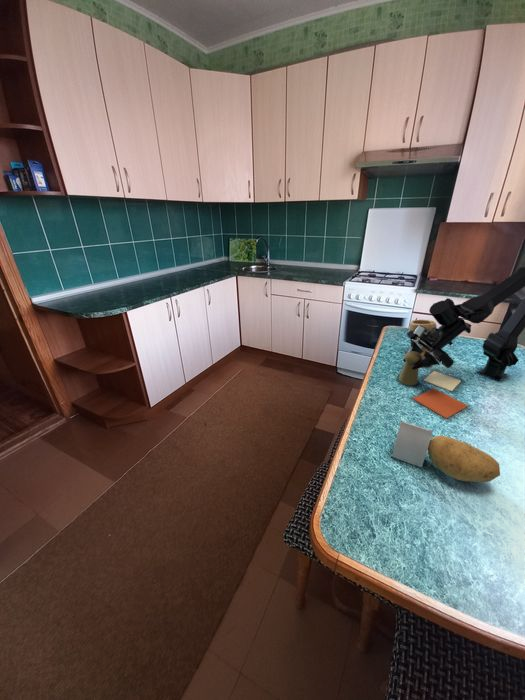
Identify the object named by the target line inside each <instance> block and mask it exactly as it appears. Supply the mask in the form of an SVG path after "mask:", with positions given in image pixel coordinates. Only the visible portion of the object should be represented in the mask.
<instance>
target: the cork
mask: <svg viewBox="0 0 525 700" xmlns="http://www.w3.org/2000/svg"><path fill="white" fill-rule="evenodd" d="M404 357H405V360H406V361H405V362H404V364H403V366H402V369H401V371H400V374H399V376H398V381H399V382H400V383H401V384H402V385H405V386H416V385H417V384H418V379H419V370H420V368H418V369H415V370H413V369H412V368H411V367H412V366H413V365H414V364H415V363H416V362H417V361H419V360H420V359H421V358H422V355H421V354H420V353H418V352H414V351H410V352H408V351H407V352H406V353H405V354H404Z"/></svg>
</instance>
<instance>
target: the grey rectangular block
mask: <svg viewBox="0 0 525 700" xmlns="http://www.w3.org/2000/svg"><path fill="white" fill-rule="evenodd" d="M396 434H397V435H396V438H395V442H394V446H393V450H392V455H391V457H392V458H394V459H397V460H399V461H403V462H405V463H408V464H411V465H413V466H415V467H419V468H423V465H424V462H425V459H426V456H427V454H428V447H429V443H430V440H431V439H432V435H433V430H432V429H428V428H426V427H422V426H420V425H416V424H412V423H409V422H405V421H403V420H400V423H399V428H398V431H397V433H396Z"/></svg>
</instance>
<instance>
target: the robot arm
mask: <svg viewBox="0 0 525 700" xmlns="http://www.w3.org/2000/svg"><path fill="white" fill-rule="evenodd" d="M523 288H525V265H524V266H520V267H519V268H518V269H517V270H516V272H514V273H513V274H511V275H510V276H507V278H505V279H504V280H502V281H501V282H500V283H498V284H497V285H495V286H493V287H492V288H491V289H490V290H488V291H487V292H485V293H483V294H482V295H478V296H477V295H476V296H473V297H471V298H469V299H467V300H465V301H463V302H462V303H458V304H455V302H454V300H453V299H451V298H449V297H448V298H446V299H444V300H439V301H437V302H434V303H432V305H431V306H430V307H429V310H428V311H429V313H430V315H431V316H432V318H434V320H435V322H437V323H438V324H439V325H440V326H439V327H437V326H436V327H435V328H432V329H431V330H430V329H428V328H426V327H423V326H421V325H418V327H417V328H416V330H415V331H414V330H412V331H410V332H409V331H408V332H407V333H406V334H405V335H406V336H407V337H408V338H409V342H410V347H409V349H408V350H409V351H408V350H407V352H410V351H414V352H418V353H420V354H421V353H423V351H422V349H421V348H422V347H424V348H425V349H427V350H428V351H429V352H430V353H429V352H428V351H425V354H424V356H423V357H422V358H421V359H420V360H419V361H417V362H416V363H415V364H414V365H413V366H412V367H411V368H412V369H413V370H415V369H418V368H419V369H421V368H425V367H430V366H436V365H438V366H440V365H442V366H444V367H445V368H446V369H450V368H451V367H452V366H454V359H453V358H452V357H451V356H450V355H449V353H447V352H446V351H445V350H443V349H444V348H445V347H446V346H448V345H449V346H452V345H453V344H454V342H453V340H455V339H456V338H457V337H459V336H460V335H461V334H462V333H464V332H465V333H467V334H470V333H471V331H472V324H477V325H479V324H480V323H482V322H484V321H485V320H486V319H487V318H488V317H489V316H491V315H492V314H493V312H494V310H495V308H496V307H497V306H498V305H500V304H501V303H503V302H504V301H506V300H507V299H509V297H511V296H513V295H515V294H516V293H518V292H519V291H520V290H522V289H523ZM465 320H466V321H468V322H470V323H468V322H466V321H465ZM471 323H472V324H471ZM524 330H525V297H524V298H523V299H522V301H521V302H520V303H519V304H518V306H517V307H516V309H515V310H514V312H513V313H512V314H511V316H510V317H509V319H508V320H507V321H506V322H505V324H504V325H503V326H502V328H501V329H500V330H498V331H497V332H495V333H493V332H490V333H489V334H488V336H487V337H486V338H485V340H483V344H482V350H483V352H482V353H483V356H485V357H487V361H486V363H485V366H484V368H483V369H481V370H480V371H479V372H478V373H479V374H480V375H482V376H485V377H488V378H490V379H493V380H495V381H498V382H499V381H502V379H504V378H505V377H507V376H508V373H505V372H506V370H507V367H509V368H511V367H512V366H515V365H517V363H518V362H519V358H518V356H517V355H516V354H515V352H516V350H517V348H518V339H519V336H520V335H521V334H522V332H523V331H524ZM402 361H403V362H404V363H405V361H406V360H405V356H404V357H403V359H402ZM419 369H418V370H419Z"/></svg>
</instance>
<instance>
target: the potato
mask: <svg viewBox="0 0 525 700" xmlns="http://www.w3.org/2000/svg"><path fill="white" fill-rule="evenodd" d="M427 454H428V456H429V459H430V460H431V462H432V463H433V464H434V466H435V467H436V468H437V469H439V471H441V472H442V473H444V474H446V475H447V476H449V477H451V478H453V479H454V480H458V481H462V482H473V483H475V482H476V483H487V482H489V483H490V482H492V481H493V480H495V479H496V478H498V477H500V476H501V470H500V469H501V468H500V463H499V462H498V461H497V460H496V459H495V458H494V457H493V456H492V455H490V454H489V453H486V452H485V451H483V450H481V449H479V448H478V447H476V446H473V445H471V444H469V443H467V442H464V441H462V440H459V439H455V438H453V437H450V436H445V435H441V434H440V435H435V436H434V437H433V438H432V437H431V439H430V443H429V447H428V450H427Z"/></svg>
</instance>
